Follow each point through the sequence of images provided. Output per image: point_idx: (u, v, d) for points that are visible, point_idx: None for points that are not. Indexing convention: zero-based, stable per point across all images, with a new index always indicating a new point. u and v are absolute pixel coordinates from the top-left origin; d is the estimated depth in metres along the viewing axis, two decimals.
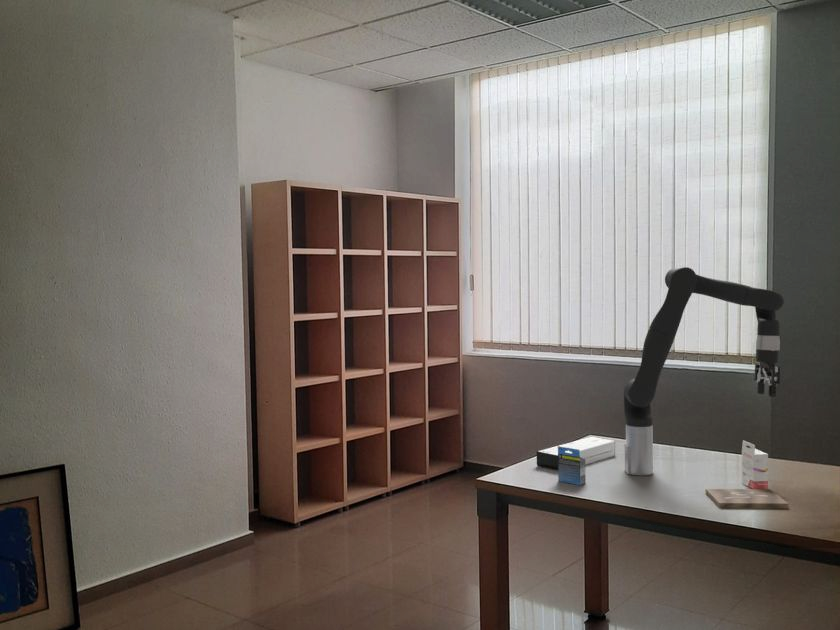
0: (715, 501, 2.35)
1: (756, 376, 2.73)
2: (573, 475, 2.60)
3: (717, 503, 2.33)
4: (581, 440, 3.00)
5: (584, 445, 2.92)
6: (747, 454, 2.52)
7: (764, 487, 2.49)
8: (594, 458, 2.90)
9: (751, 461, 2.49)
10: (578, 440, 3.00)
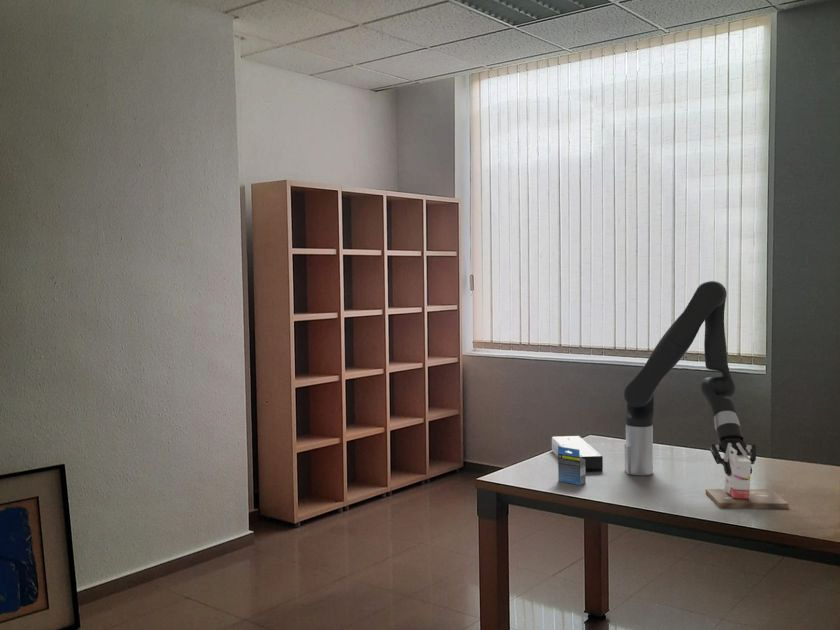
0: (715, 501, 2.35)
1: (719, 455, 2.41)
2: (573, 475, 2.60)
3: (717, 503, 2.33)
4: (559, 441, 3.00)
5: (578, 444, 2.94)
6: (730, 460, 2.38)
7: (745, 496, 2.34)
8: None
9: (733, 467, 2.35)
10: (558, 441, 2.99)
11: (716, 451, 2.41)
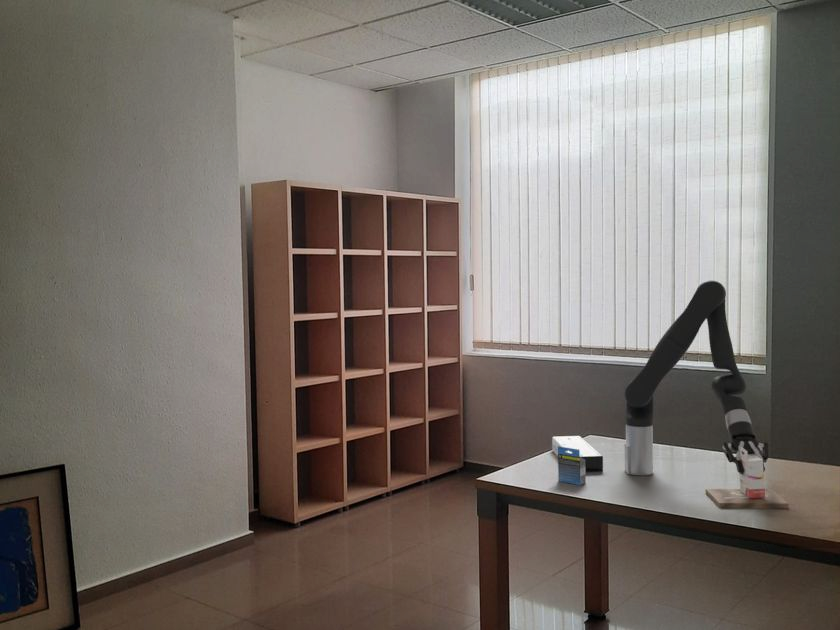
0: (715, 501, 2.35)
1: (732, 454, 2.40)
2: (573, 475, 2.60)
3: (717, 503, 2.33)
4: (560, 441, 3.00)
5: (579, 444, 2.94)
6: (742, 460, 2.38)
7: (761, 495, 2.34)
8: None
9: (745, 468, 2.35)
10: (558, 441, 2.99)
11: (728, 449, 2.41)
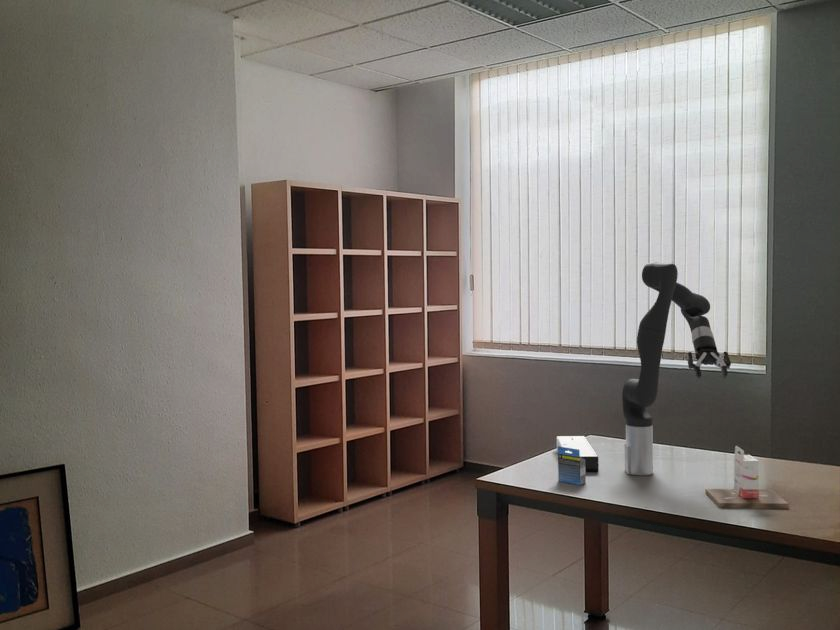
0: (715, 501, 2.35)
1: (692, 361, 2.75)
2: (573, 475, 2.60)
3: (717, 503, 2.33)
4: (562, 440, 3.00)
5: (579, 444, 2.94)
6: (738, 460, 2.38)
7: (754, 496, 2.34)
8: None
9: (741, 468, 2.36)
10: (560, 441, 3.00)
11: (690, 358, 2.76)
